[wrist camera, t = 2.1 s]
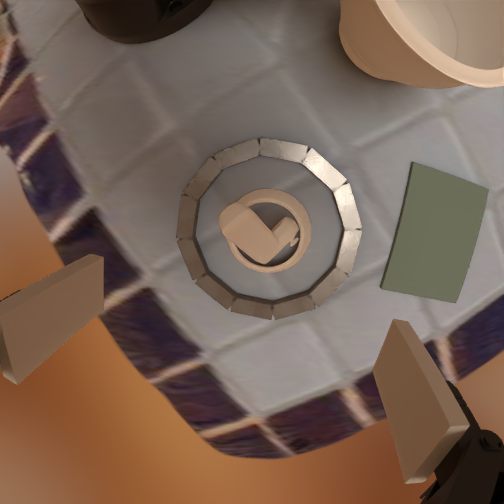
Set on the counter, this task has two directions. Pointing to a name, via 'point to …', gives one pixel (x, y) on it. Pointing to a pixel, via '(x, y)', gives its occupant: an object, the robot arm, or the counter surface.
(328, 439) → the counter surface
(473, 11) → the jar
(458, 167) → the counter surface
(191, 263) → the metal ring
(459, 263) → the rubber mat
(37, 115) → the counter surface
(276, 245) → the hook
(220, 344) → the counter surface
